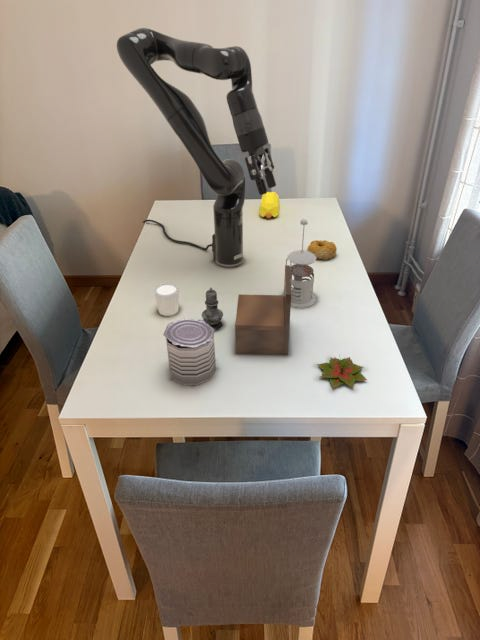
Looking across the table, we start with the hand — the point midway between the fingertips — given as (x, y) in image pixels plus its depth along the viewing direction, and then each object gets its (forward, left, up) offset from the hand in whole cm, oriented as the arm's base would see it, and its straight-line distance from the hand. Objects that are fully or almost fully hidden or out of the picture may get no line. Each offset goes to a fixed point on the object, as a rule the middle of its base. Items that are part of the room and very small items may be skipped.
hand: (268, 190), depth 133 cm
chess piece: (-2, -26, -31) cm, 40 cm away
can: (+5, -44, -31) cm, 54 cm away
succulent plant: (+36, -26, -31) cm, 54 cm away
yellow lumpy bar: (-29, +51, -31) cm, 66 cm away
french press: (+11, -1, -31) cm, 33 cm away
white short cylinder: (-17, -27, -31) cm, 44 cm away
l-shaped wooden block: (+12, -24, -30) cm, 40 cm away
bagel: (+5, +28, -31) cm, 42 cm away
